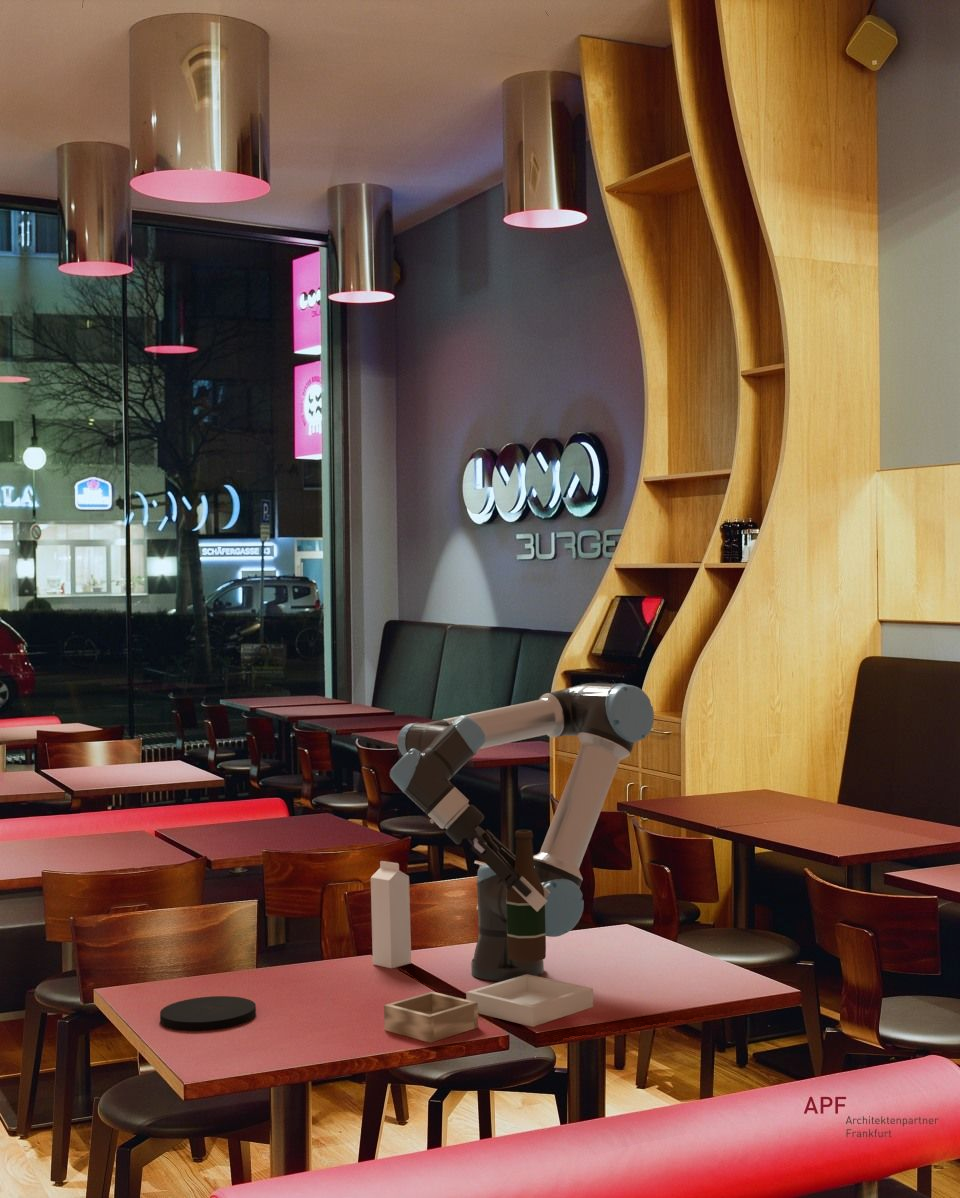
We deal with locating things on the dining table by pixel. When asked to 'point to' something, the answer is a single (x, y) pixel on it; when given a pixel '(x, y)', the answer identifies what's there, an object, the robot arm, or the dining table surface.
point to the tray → (531, 999)
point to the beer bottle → (525, 908)
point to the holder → (431, 1016)
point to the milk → (390, 916)
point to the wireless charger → (207, 1013)
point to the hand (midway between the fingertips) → (543, 901)
